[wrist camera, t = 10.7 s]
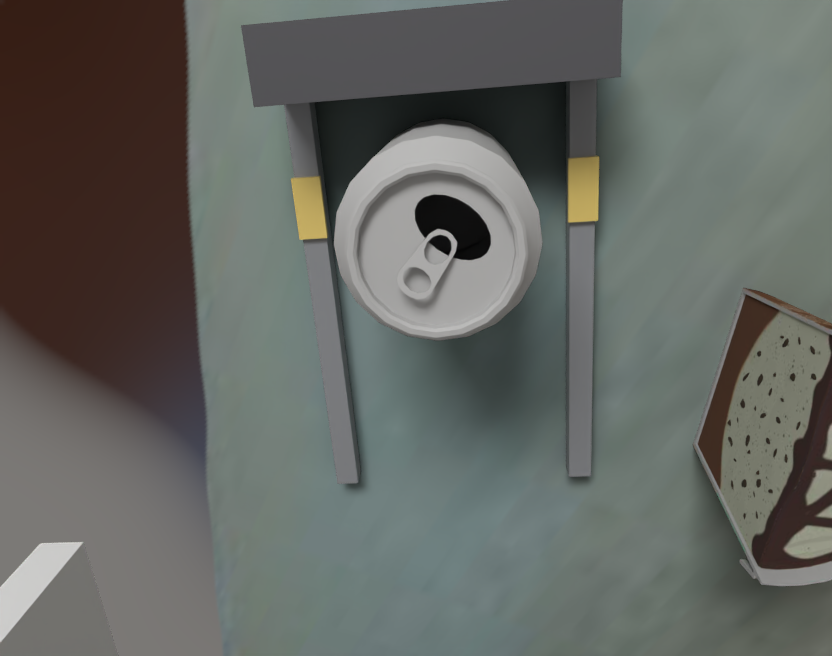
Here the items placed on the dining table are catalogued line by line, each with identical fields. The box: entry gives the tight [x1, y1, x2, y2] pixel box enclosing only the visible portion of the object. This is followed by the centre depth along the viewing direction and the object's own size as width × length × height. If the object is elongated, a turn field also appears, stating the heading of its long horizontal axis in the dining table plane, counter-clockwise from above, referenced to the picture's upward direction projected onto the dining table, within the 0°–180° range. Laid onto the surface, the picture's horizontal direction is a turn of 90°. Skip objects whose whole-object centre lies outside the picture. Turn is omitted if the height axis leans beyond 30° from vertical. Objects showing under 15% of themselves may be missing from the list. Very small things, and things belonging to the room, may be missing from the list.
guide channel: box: [241, 0, 623, 484], centre depth 32 cm, size 24×15×6 cm, turn 4°
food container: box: [693, 288, 832, 586], centre depth 31 cm, size 12×6×10 cm, turn 173°
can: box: [334, 118, 543, 341], centre depth 28 cm, size 8×8×12 cm
